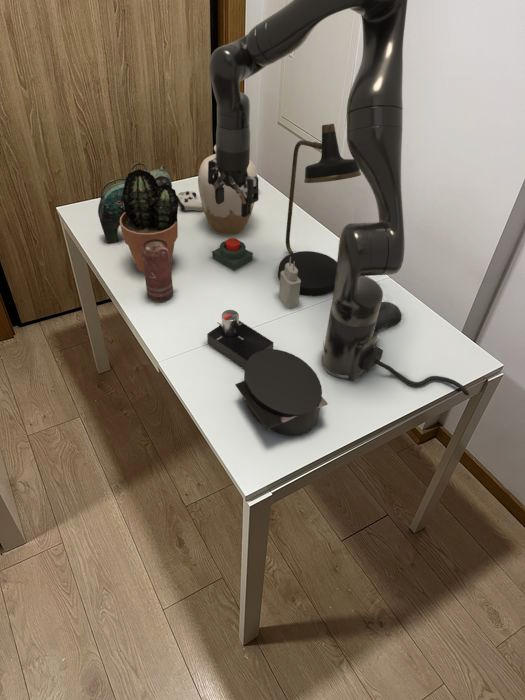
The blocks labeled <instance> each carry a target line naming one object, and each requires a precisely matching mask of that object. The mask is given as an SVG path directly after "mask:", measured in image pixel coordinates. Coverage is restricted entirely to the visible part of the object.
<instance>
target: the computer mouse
mask: <svg viewBox="0 0 525 700" xmlns="http://www.w3.org/2000/svg"><path fill="white" fill-rule="evenodd" d="M401 320H402V312H401V309H400V308H399V306H397V305H396V304H394V303H392V302H389V301H382V303H381V306H380V310H379V314H378V318H377V322H376V326H375V330H374V332H375V333H377V332H379V331H381V330H384V329H386V328H389V327H393V326H395V325H397V324H398V323H400V322H401ZM379 340H380V338H379V337H377V338H376V342H375V345H377V343H378V341H379Z"/></svg>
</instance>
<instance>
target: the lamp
mask: <svg viewBox="0 0 525 700" xmlns="http://www.w3.org/2000/svg"><path fill="white" fill-rule="evenodd" d="M301 146H307V147H310V148H313V149H316V150H321V156H320V160H319V161H318V162H315V163H313V164H309V165H307V166H305V169H304V181H303V183H305V184H316V183H317V184H318V183H328V182H334V181H340V180H347V179H352V178H357V177H361V176H362V172H361V170H360V169H359V167H358V165H357V164H356V162H355V160H354V159H353V158H343V157H342V156H341V153H340V148H339V143H338V137H337V133H336V126H335V123H329V124H322V125H321V142H319V141H310V140H305V139H300V140H298V141H297V142H296V144H295V146H294V149H293V153H292V155H293V156H292V164H291V165H292V166H291V176H290V187H289V198H288V206H287V207H288V208H287V219H286V231H285V247H286V250H287V252H288V253H289V254H287V255H285V257H283V258H282V259H281V260H280V262H279V263H278V270H277V278H278V281H279V282H280V275H281V271H284V270H285V265H286V263H289V262H290V257H291V263H292V264H293V263H294V261H295V264H294V266H295V267H296V268H297V269H298V275H297V276H298V278H299V279H300V280H301V283H300V291H299V295H300V296H307V297H319V296H325V295H328V294H331V293H334V284H335V274H336V268H337V260H335V259H334V258H333V257H331V256H329V255H327V254H325V253H321V252H318V251H313V250H312V251H311V250H302V251H295V252H294V251H293V250H292V248H291V247H292V246H291V241H290V238H291V230H292V229H291V227H292V218H293V206H294V197H295V185H296V177H297V175H296V174H297V165H298V157H299V150H300V147H301Z"/></svg>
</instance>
